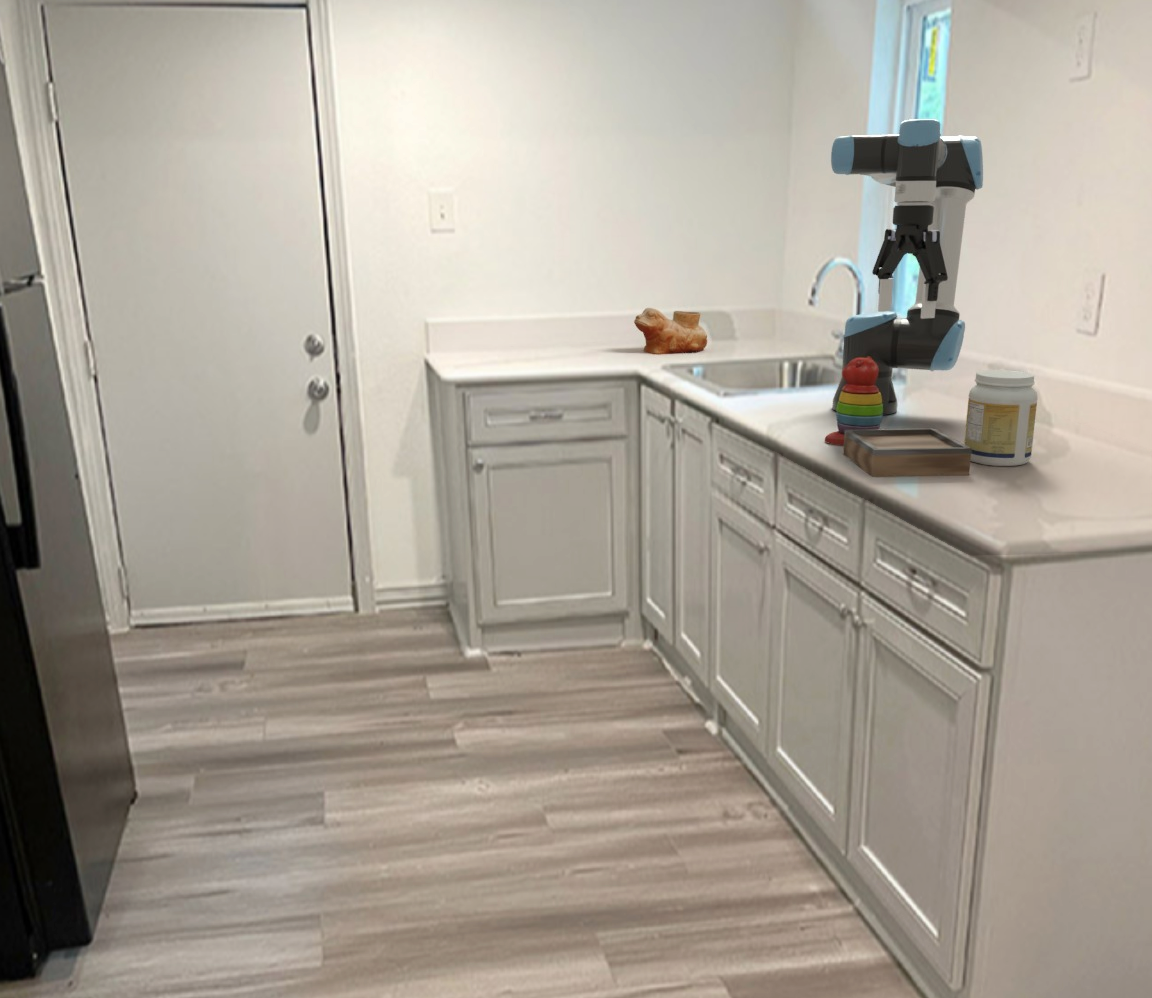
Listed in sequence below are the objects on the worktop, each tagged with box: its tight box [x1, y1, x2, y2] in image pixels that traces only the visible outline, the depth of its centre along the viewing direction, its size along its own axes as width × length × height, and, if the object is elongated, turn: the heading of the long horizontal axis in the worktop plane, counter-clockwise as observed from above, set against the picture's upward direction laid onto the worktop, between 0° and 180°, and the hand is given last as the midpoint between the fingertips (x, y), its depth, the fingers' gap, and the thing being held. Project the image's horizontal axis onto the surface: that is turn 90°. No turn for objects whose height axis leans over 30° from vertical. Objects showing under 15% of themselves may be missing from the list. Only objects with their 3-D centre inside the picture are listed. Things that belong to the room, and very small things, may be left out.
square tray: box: [842, 427, 972, 478], centre depth 199 cm, size 18×18×5 cm
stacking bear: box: [824, 357, 884, 447], centre depth 217 cm, size 11×10×18 cm
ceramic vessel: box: [633, 307, 708, 356], centre depth 356 cm, size 14×26×15 cm, turn 107°
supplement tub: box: [963, 369, 1038, 467], centre depth 201 cm, size 12×12×17 cm
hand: (905, 314), depth 209 cm, fingers open, 13 cm apart
